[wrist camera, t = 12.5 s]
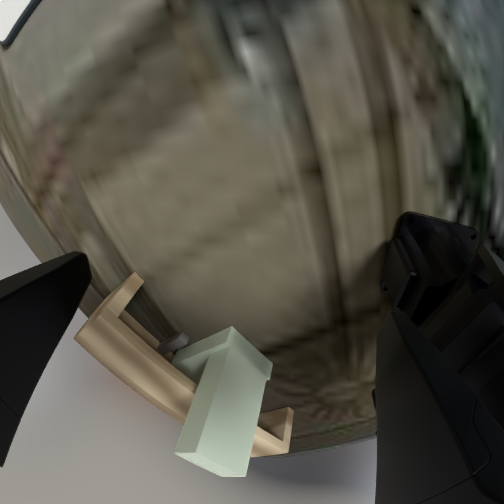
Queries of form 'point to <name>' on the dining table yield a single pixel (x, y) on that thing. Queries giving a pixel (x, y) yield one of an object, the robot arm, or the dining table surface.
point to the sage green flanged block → (222, 401)
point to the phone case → (14, 17)
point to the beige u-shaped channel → (161, 366)
